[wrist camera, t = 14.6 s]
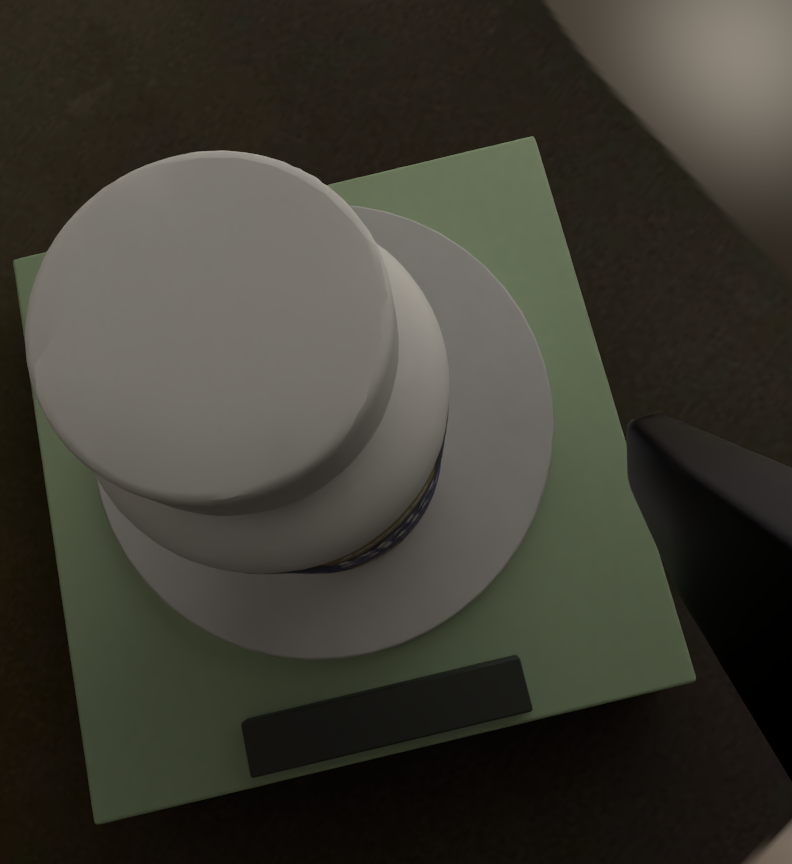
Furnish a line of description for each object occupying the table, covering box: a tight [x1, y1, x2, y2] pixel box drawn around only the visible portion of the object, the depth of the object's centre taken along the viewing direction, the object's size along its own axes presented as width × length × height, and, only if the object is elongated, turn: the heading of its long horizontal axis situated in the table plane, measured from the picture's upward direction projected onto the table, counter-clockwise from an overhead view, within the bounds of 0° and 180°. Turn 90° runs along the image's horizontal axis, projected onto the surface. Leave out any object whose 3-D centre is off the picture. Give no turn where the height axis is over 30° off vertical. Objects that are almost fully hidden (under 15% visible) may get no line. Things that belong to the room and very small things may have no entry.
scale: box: [13, 137, 696, 824], centre depth 19 cm, size 14×14×3 cm
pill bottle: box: [25, 151, 450, 574], centre depth 13 cm, size 5×5×10 cm
